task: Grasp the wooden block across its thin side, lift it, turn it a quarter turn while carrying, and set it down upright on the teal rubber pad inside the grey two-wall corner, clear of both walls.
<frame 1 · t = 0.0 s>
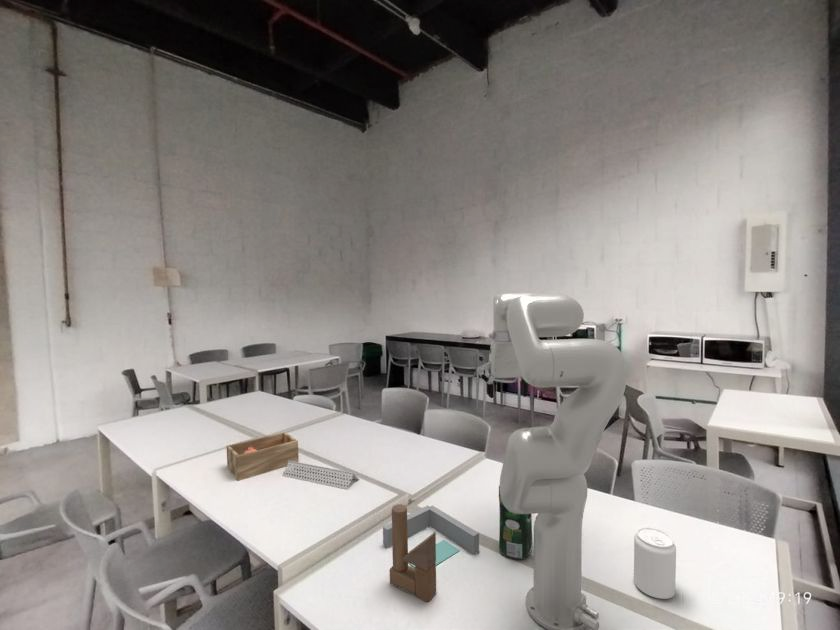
hand: (507, 396, 115), 37 cm above the table, tool pointing down, fingers open, 9 cm apart
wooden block: (412, 589, 92), on the table
coffee jar: (515, 549, 105), on the table
pottery: (264, 467, 158), on the table, touching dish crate
beverage can: (653, 588, 90), on the table
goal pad: (433, 556, 102), on the table
corner bead: (320, 480, 147), on the table
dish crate: (263, 465, 158), on the table
arena: (431, 550, 105), on the table
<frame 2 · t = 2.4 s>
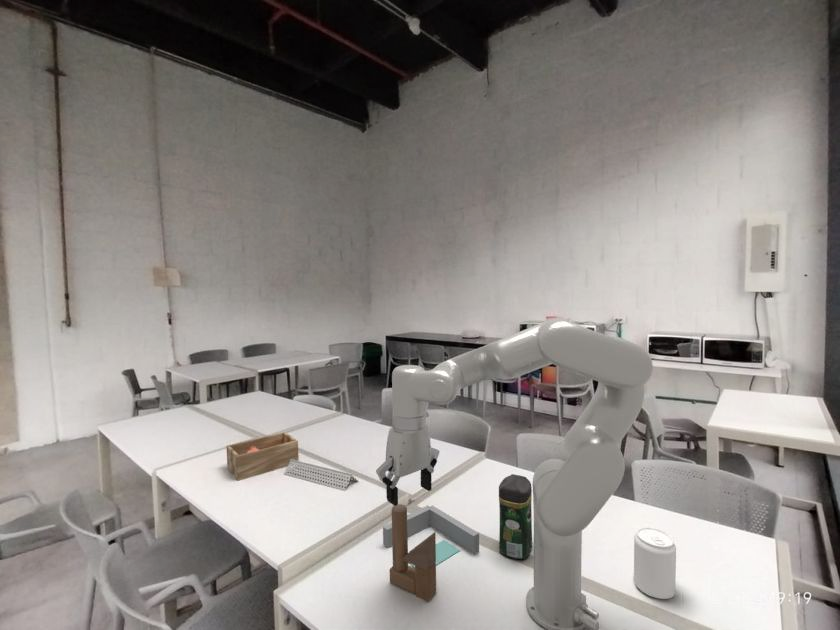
hand: (409, 495, 90), 22 cm above the table, tool pointing down, fingers open, 9 cm apart
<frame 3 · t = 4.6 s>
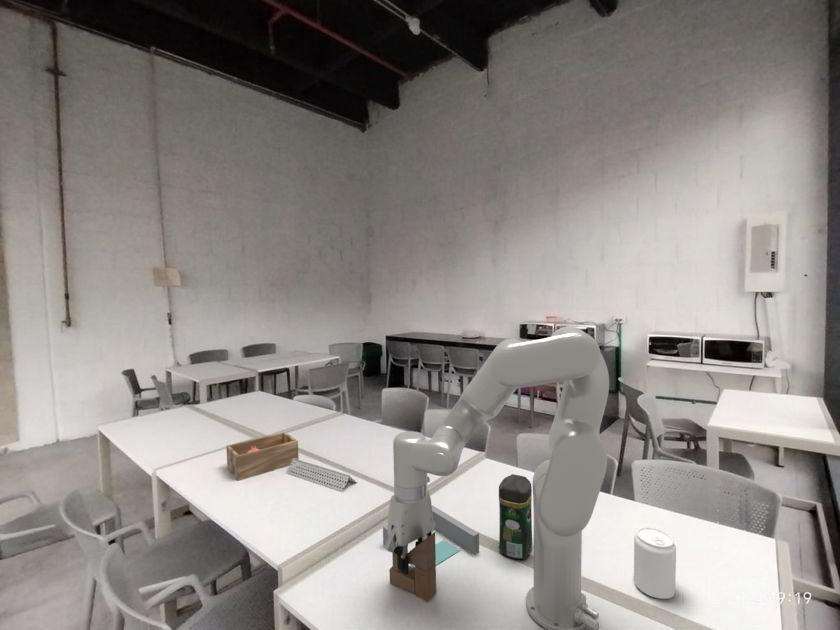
hand: (412, 565, 91), 5 cm above the table, tool pointing down, fingers closed on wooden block, 4 cm apart
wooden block: (412, 589, 91), on the table, touching gripper
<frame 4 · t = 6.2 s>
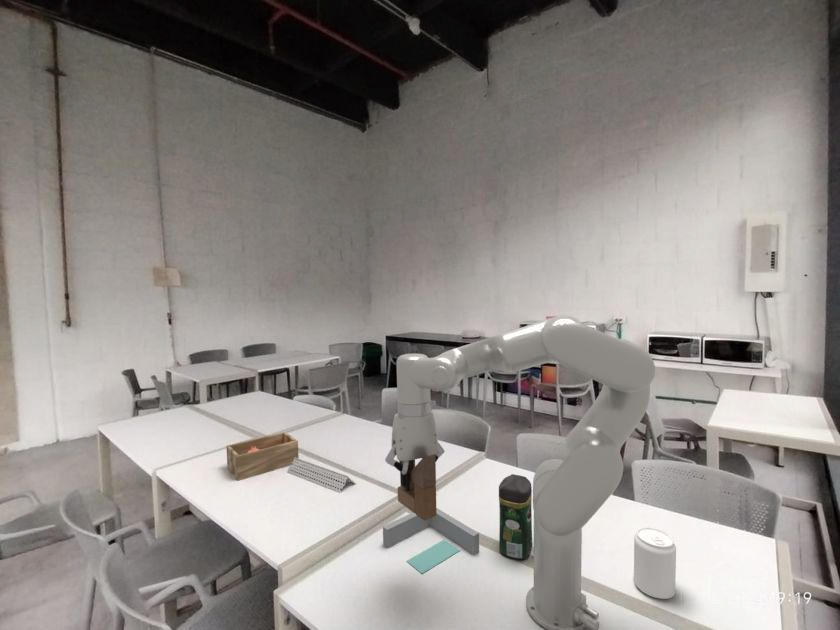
hand: (416, 485, 92), 23 cm above the table, tool pointing down, fingers closed on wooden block, 4 cm apart
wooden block: (416, 509, 92), point 17 cm above the table, touching gripper
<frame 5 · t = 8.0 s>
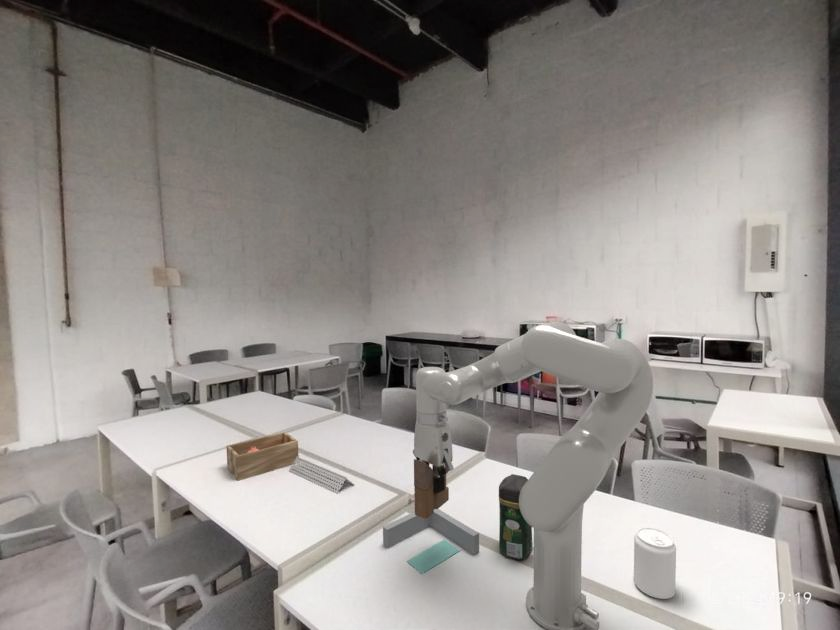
hand: (432, 486, 101), 18 cm above the table, tool pointing down, fingers closed on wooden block, 4 cm apart
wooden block: (432, 508, 102), point 13 cm above the table, touching gripper
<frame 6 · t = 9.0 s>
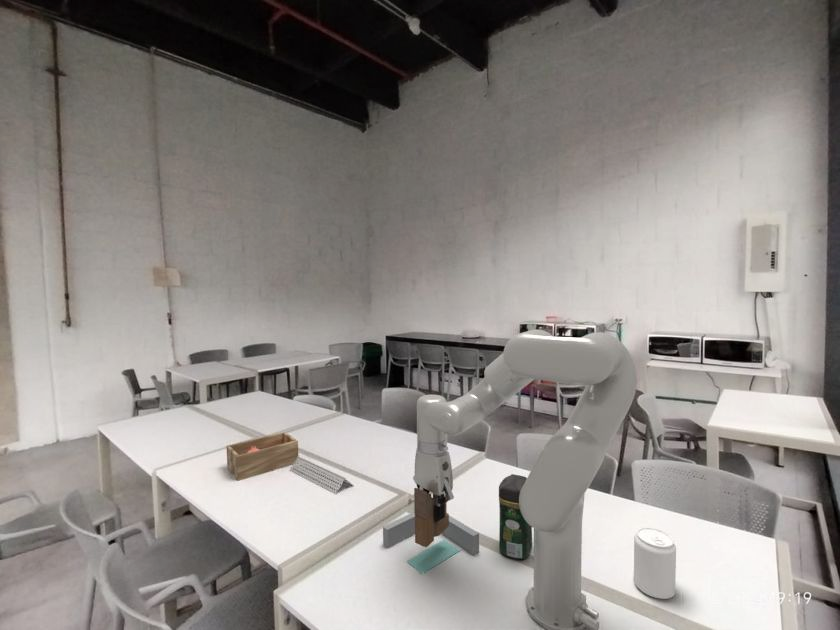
hand: (432, 514, 102), 11 cm above the table, tool pointing down, fingers closed on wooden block, 4 cm apart
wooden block: (432, 535, 102), point 5 cm above the table, touching gripper
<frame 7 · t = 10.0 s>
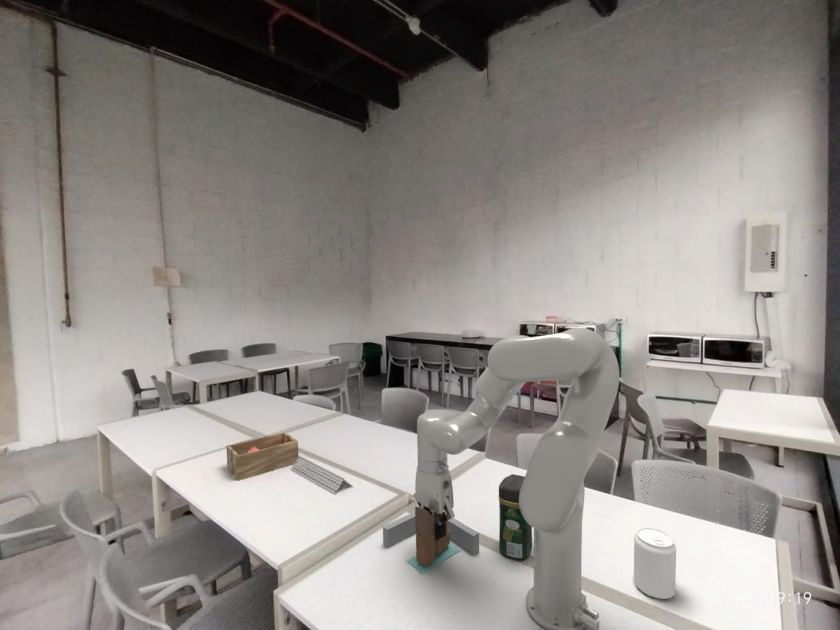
hand: (433, 532, 102), 6 cm above the table, tool pointing down, fingers closed on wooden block, 4 cm apart
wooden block: (433, 553, 102), point 1 cm above the table, touching gripper
when the fingers open (6 cm above the table, at t = 10.4 s): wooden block stays where it is, resting on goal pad.
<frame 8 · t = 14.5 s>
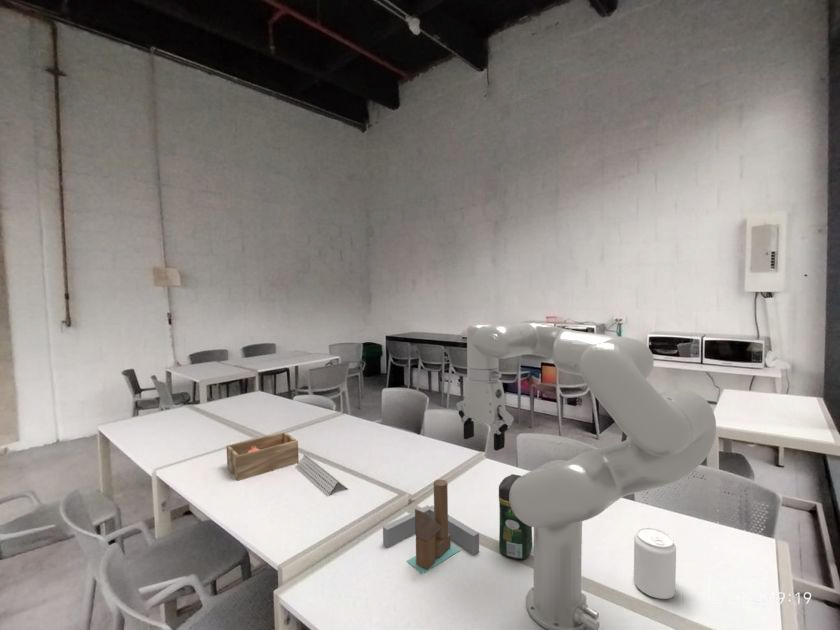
hand: (483, 443, 98), 30 cm above the table, tool pointing down, fingers open, 9 cm apart
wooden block: (433, 556, 102), resting on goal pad
at the end: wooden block inside the target area on the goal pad (0.1 cm from its centre), point 0.0 cm above the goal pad's base; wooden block tilted 0°; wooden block touching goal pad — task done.
